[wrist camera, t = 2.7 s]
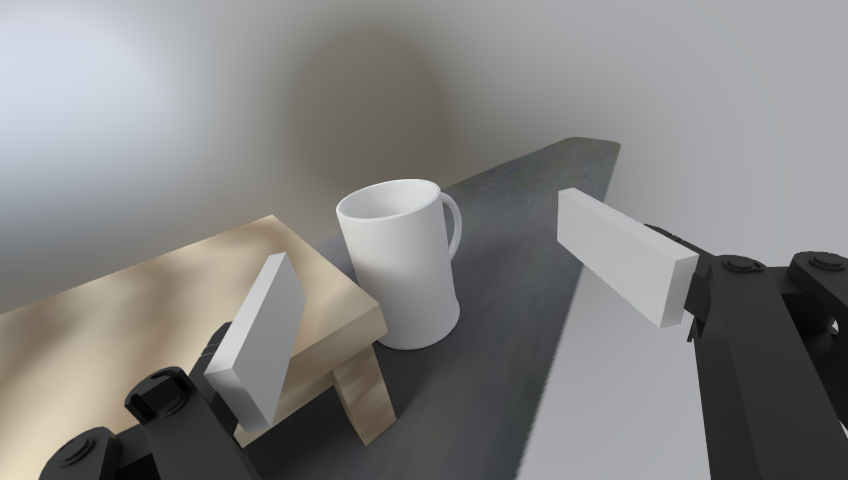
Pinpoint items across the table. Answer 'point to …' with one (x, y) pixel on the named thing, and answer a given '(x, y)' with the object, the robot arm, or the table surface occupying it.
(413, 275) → the mug
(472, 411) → the table surface
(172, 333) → the footstool
